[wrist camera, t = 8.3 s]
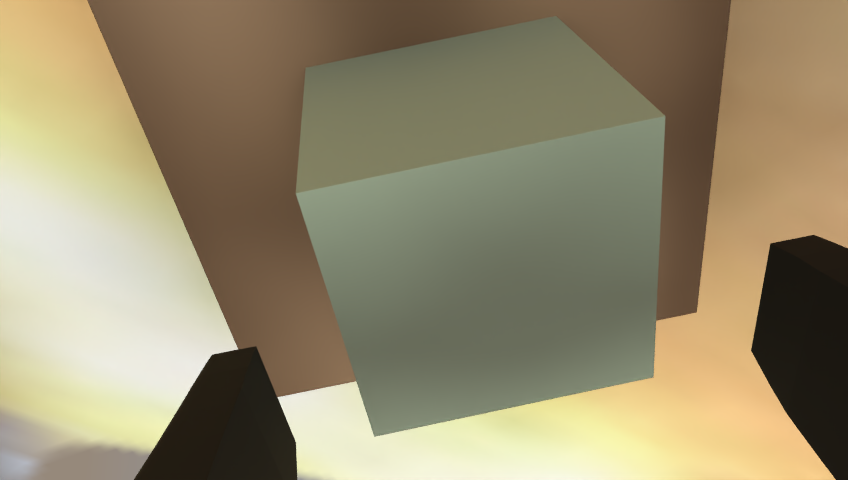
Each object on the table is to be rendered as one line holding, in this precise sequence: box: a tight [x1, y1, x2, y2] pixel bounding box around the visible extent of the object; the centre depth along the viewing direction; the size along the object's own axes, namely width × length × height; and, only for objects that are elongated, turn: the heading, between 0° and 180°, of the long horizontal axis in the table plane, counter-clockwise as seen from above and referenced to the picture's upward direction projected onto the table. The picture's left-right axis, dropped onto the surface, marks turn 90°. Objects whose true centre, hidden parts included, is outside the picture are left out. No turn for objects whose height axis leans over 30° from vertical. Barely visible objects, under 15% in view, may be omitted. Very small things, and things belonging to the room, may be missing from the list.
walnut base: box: [87, 0, 731, 397], centre depth 16 cm, size 12×12×3 cm
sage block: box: [296, 16, 665, 437], centre depth 12 cm, size 5×5×5 cm
